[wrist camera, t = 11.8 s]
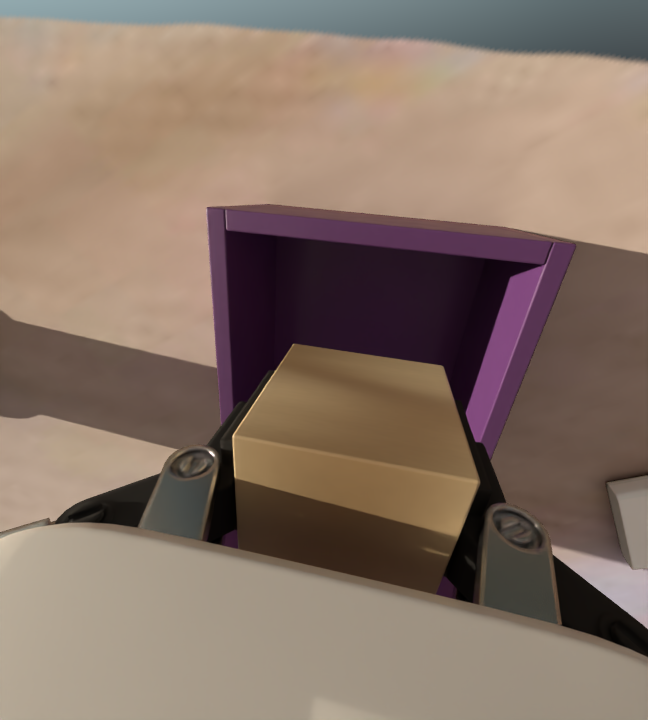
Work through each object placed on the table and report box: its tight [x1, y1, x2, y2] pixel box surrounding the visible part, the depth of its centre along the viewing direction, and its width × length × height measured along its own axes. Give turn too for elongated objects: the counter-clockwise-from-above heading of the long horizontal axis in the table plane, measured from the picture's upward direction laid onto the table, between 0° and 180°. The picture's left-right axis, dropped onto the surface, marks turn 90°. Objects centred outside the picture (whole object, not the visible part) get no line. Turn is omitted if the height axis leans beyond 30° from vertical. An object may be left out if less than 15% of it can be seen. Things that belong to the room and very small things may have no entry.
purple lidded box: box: [206, 204, 576, 460], centre depth 19 cm, size 17×14×8 cm
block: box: [232, 344, 480, 595], centre depth 10 cm, size 5×5×5 cm
